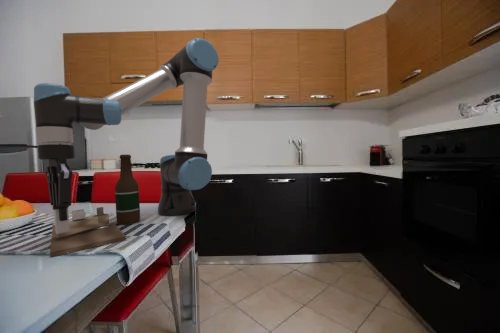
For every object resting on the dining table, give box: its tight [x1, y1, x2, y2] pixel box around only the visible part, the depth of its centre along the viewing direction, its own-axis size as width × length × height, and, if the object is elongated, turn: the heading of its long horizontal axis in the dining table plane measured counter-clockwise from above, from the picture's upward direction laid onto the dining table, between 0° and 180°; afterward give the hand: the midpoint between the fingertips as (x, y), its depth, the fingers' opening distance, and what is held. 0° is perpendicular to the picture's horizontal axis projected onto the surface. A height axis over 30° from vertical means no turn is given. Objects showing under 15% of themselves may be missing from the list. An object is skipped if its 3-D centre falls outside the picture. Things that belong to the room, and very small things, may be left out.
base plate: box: [49, 221, 126, 258], centre depth 68 cm, size 16×19×1 cm
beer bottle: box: [114, 154, 141, 226], centre depth 84 cm, size 8×8×24 cm
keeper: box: [71, 209, 110, 230], centre depth 74 cm, size 10×7×6 cm
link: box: [51, 206, 110, 238], centre depth 70 cm, size 14×4×5 cm, turn 152°
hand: (62, 232), depth 64 cm, fingers closed
